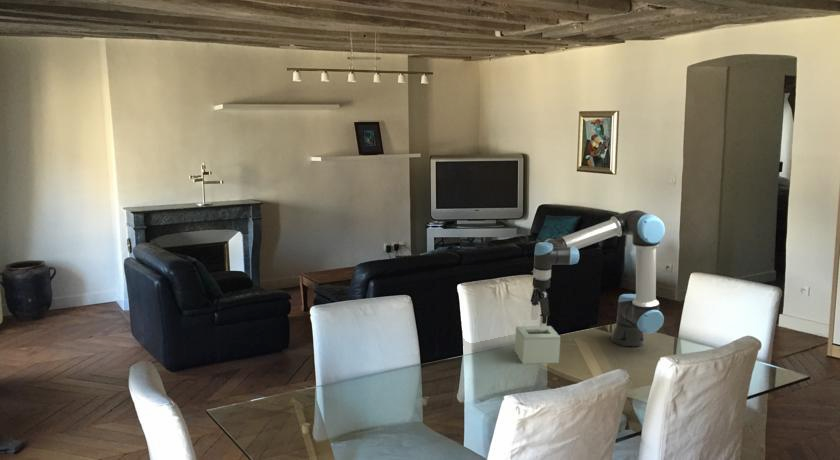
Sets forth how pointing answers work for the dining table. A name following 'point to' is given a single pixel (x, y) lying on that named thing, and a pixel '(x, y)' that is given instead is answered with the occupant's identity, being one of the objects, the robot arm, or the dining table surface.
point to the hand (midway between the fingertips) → (538, 324)
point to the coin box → (537, 345)
